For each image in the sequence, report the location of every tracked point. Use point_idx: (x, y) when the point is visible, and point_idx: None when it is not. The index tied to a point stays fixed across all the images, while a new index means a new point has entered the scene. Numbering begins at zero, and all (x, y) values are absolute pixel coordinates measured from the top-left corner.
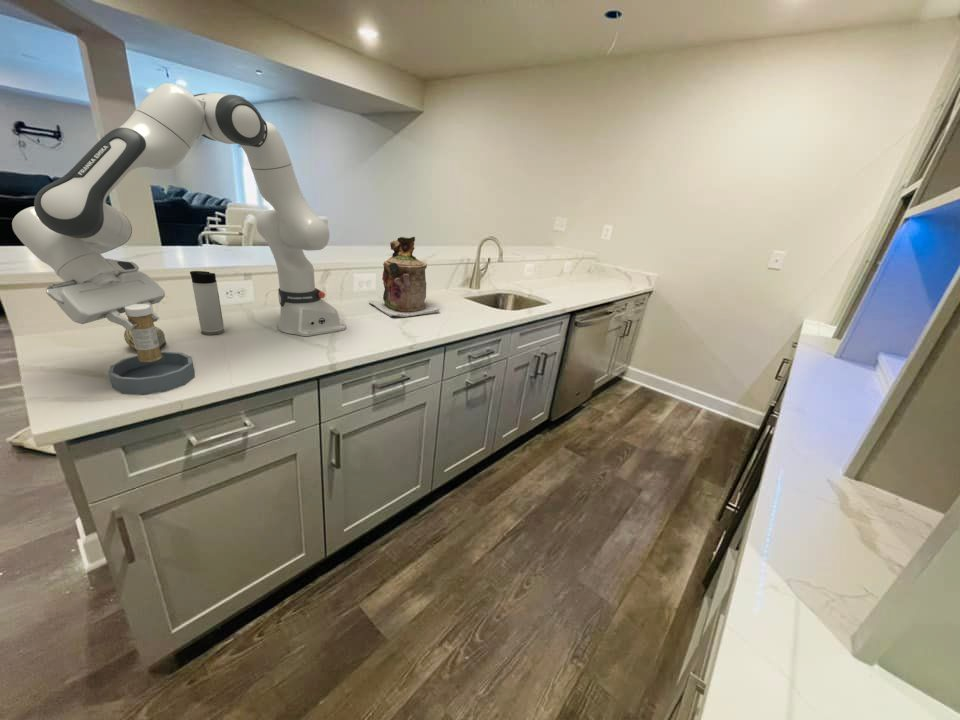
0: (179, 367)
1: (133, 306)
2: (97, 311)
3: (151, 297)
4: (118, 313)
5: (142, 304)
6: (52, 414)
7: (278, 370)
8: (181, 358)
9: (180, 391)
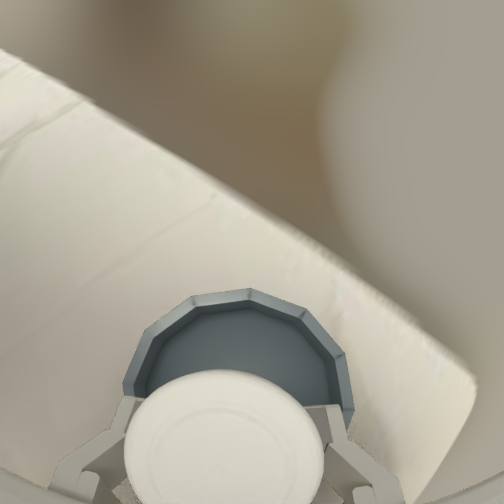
0: (168, 374)
1: (245, 486)
2: (499, 484)
3: (5, 478)
4: (361, 494)
5: (157, 464)
6: (440, 437)
7: (124, 154)
8: (141, 376)
9: (284, 285)
